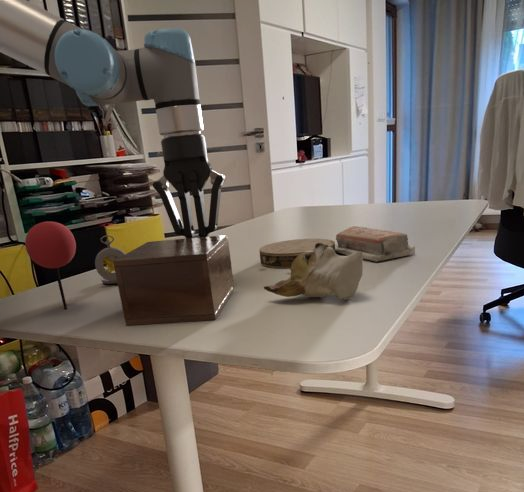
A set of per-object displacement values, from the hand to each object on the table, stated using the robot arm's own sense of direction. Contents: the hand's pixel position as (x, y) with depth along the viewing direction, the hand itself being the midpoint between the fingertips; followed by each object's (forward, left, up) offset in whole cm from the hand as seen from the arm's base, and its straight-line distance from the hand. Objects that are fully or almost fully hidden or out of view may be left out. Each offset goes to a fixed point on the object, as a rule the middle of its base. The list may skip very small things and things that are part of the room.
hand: (202, 271), depth 97 cm
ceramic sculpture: (+22, -14, -3) cm, 26 cm away
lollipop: (-23, -11, -3) cm, 25 cm away
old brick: (+32, +17, -3) cm, 36 cm away
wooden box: (0, -15, -3) cm, 15 cm away
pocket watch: (-20, +7, -3) cm, 22 cm away
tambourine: (+17, +16, -3) cm, 24 cm away
